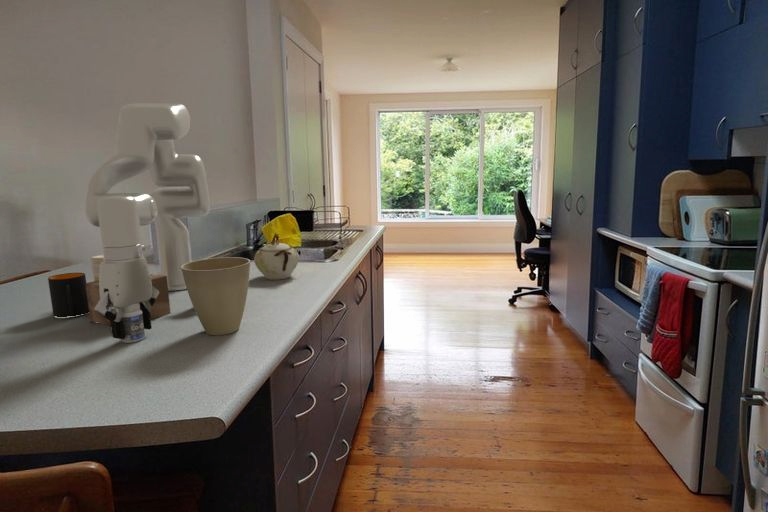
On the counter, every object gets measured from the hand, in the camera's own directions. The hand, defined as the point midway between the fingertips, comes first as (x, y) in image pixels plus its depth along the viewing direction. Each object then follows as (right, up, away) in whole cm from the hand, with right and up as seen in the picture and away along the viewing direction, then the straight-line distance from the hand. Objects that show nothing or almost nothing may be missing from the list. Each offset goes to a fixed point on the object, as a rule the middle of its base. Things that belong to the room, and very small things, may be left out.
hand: (132, 332), depth 111 cm
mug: (-26, +1, +20) cm, 33 cm away
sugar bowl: (+19, +9, +61) cm, 64 cm away
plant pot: (+18, -1, +5) cm, 19 cm away
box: (-9, +1, +17) cm, 19 cm away
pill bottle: (0, -2, 0) cm, 2 cm away
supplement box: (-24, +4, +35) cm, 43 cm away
